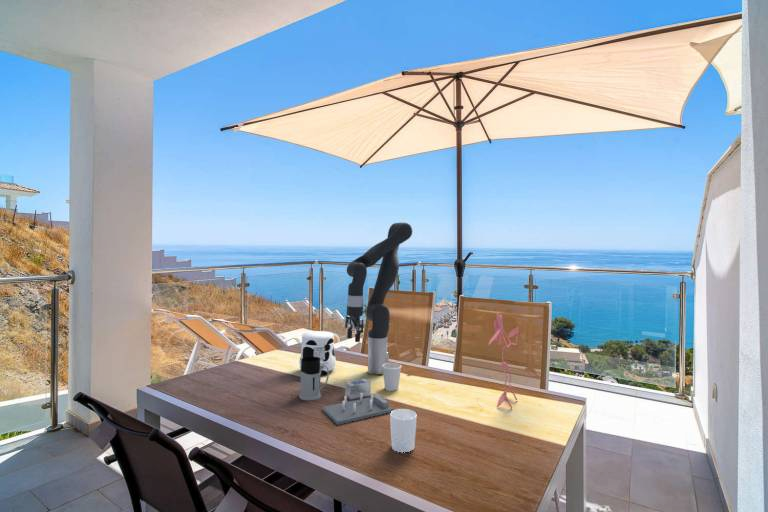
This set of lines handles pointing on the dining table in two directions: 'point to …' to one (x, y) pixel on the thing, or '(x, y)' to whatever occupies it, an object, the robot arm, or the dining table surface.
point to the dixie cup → (391, 375)
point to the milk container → (319, 348)
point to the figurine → (497, 337)
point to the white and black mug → (311, 378)
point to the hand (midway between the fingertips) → (353, 340)
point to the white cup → (403, 429)
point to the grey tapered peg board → (357, 409)
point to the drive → (357, 388)
